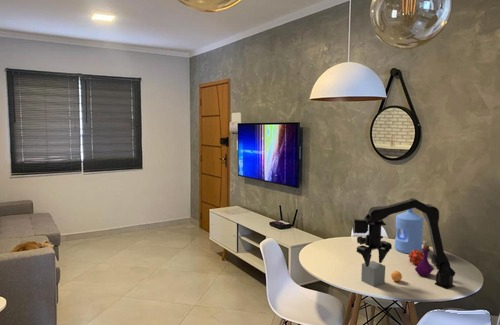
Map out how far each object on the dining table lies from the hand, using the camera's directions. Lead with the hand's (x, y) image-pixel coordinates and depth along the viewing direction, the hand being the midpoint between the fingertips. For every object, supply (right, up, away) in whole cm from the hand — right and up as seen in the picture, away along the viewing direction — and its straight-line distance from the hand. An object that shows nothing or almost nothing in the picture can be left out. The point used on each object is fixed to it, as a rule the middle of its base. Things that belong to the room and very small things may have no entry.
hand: (373, 264), depth 185 cm
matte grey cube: (0, -9, +1) cm, 9 cm away
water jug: (+37, -4, +48) cm, 61 cm away
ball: (+12, -6, +2) cm, 14 cm away
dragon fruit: (+32, -7, +25) cm, 41 cm away
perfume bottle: (+29, -8, +10) cm, 32 cm away
